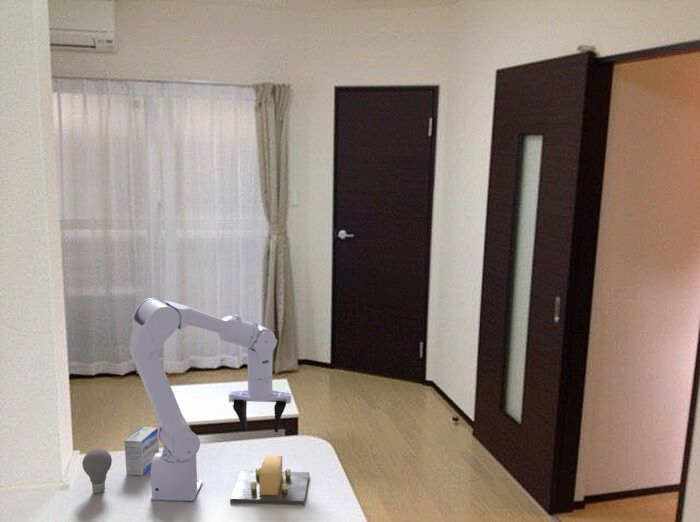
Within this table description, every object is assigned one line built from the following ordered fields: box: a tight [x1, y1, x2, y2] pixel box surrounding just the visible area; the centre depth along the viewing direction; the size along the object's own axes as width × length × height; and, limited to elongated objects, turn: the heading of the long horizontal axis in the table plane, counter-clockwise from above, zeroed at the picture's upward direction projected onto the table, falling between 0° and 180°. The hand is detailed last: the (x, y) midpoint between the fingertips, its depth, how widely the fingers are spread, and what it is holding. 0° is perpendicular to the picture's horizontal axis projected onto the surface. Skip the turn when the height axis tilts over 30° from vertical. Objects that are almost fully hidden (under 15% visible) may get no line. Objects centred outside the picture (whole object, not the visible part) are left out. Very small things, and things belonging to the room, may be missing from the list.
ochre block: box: [259, 455, 283, 495], centre depth 140 cm, size 4×8×5 cm, turn 179°
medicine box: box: [124, 426, 160, 477], centre depth 148 cm, size 8×4×9 cm, turn 168°
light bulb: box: [81, 447, 113, 494], centre depth 137 cm, size 6×6×10 cm
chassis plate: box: [229, 467, 310, 506], centre depth 140 cm, size 16×12×3 cm
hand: (260, 430), depth 148 cm, fingers open, 7 cm apart
